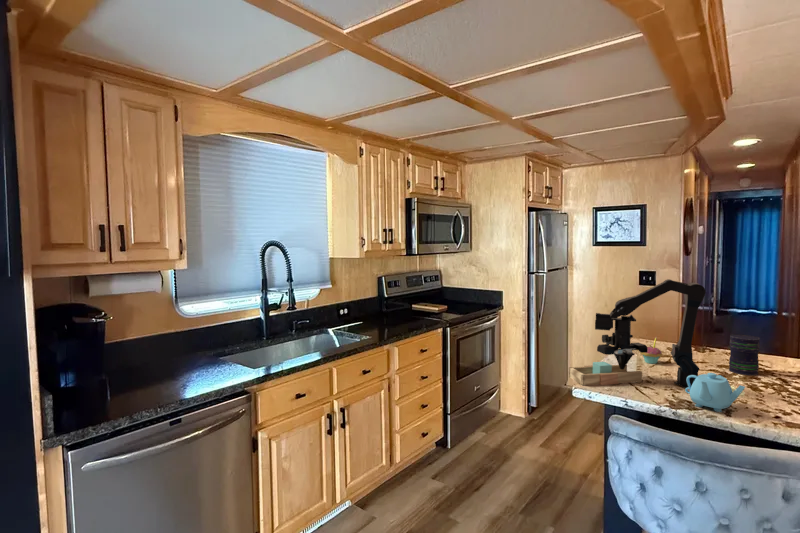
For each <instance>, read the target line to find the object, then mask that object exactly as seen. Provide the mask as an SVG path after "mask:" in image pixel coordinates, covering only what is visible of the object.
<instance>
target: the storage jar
mask: <svg viewBox="0 0 800 533" xmlns="http://www.w3.org/2000/svg"><path fill="white" fill-rule="evenodd" d="M729 338H730V339H729V340H730V341H729V349H730V350H729V351H730V353H729V355H730V356H729V359H728V360H729V361H728V370H729V372H731V373H734V374H738V375H743V376H757V375H759V369H760V368H759V367H760V366H759V364H760V362H759V352H760V347H761V346H760V337H758V336H754V335H750V334H741V333H740V334H738V333H735V334H730V337H729Z"/></svg>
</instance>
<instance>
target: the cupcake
mask: <svg viewBox="0 0 800 533" xmlns="http://www.w3.org/2000/svg"><path fill="white" fill-rule="evenodd" d="M656 342H657V337H655V338H654V341H653V346H647V348H648V352H645V353H641V352H640V351H639V354H640V355H642V357H643V359H644V362H645V363H646V364H652V365H654V364H658V361H659V358H661V357H662V356H663V352H662V351H661V349H659V348H658V347H656Z"/></svg>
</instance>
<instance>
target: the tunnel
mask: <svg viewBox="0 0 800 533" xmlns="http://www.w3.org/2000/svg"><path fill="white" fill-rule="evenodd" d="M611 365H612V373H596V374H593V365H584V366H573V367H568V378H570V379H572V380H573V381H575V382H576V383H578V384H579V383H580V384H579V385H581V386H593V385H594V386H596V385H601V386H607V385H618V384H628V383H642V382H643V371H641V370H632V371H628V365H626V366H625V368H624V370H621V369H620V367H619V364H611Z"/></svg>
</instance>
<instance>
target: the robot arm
mask: <svg viewBox="0 0 800 533" xmlns="http://www.w3.org/2000/svg"><path fill="white" fill-rule="evenodd" d="M706 290H707V289H706V288H705V287H704V286H703V285H701V284H700V283H697V282H690V283H685V282H681V281H676V280H672V279H668V278H667V279H665V280H664V281H662V282H661V283H658V284H656V285H654V286H652V287H650V288H648V289H646V290H644V291H642V292H641V293H639V294H636V295H633V296H629V297H624V298H621V299H620V300H619V299H618V301H616V302H615V305H614V308H612V310H611V311H610V312H609V313H600V312H596V313H595V320H594V330H596V331H611V330H612V329H613V328H614V332H612V334H611V335H610V336H609V334H602V335H601V342H602V343H603V344H598V345H597V349H596V350H597V351H596V352H598V353H601V354H603V355H607V356H609V355H613V356H614V358H615V359H616V361H617V362H616V363H617V365H619V367H620V369H621V370H624V368H625V366H626V365H627V364H628V363H629V361H630V360H631V358H632V357H633V356H635V355H636V354H635V353H633V351H639V353H640V352H641V353H645V352H648V348H647V347H648V345H646V344H645V343H644V344H643V343H641V342H631V339H632V338H633V337H634V336H633V334H631V330H632V329H631V328H632V326H631V324H632V323H631V322H637V319H636V318H635V317H634V316H633V314H632V313H633V312H634V311H635V310H637V309H638V308H639V307H640V306H642V305H643V304H645V303H648V302H650V301H652V300H655V299H656V298H657V297H660V296H662V295H664V294H667V293H668V292H676V293H680V294H683V295H684V296H683V297H684V305H685V306H684V312H683V317H682V322H681V327H680V332H679V339H678V340H677V343H676V344H675V343H672V344H671V347H672V348H671V351H670V355H671V357H672V359H673V361H674V362H675V364H676V365H677V366H678V367H677V372H676V381H673V383H674V384H675V385H678V386H680V387H683V388H685V389H686V388H687V387H688V384H687V381H686V379H687V377H688V376H690V375H696V376H699V371H700V367H699V366H698V365H697V364H696V362H695V361H694V360H693V348H692V347H693V346H692V343H693V338H694V332H695V326H696V321H697V318H698V317H697V316H698V311H699V308H700V306H701V304H702V302H703V300H704V298H705V296H706V294H707V291H706ZM604 343H605V344H604ZM627 366H628V365H627ZM695 379H696V378H694V377H691V378H690V379H689V381H690V384H691V386H692V384H693V382H694V381H695Z"/></svg>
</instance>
